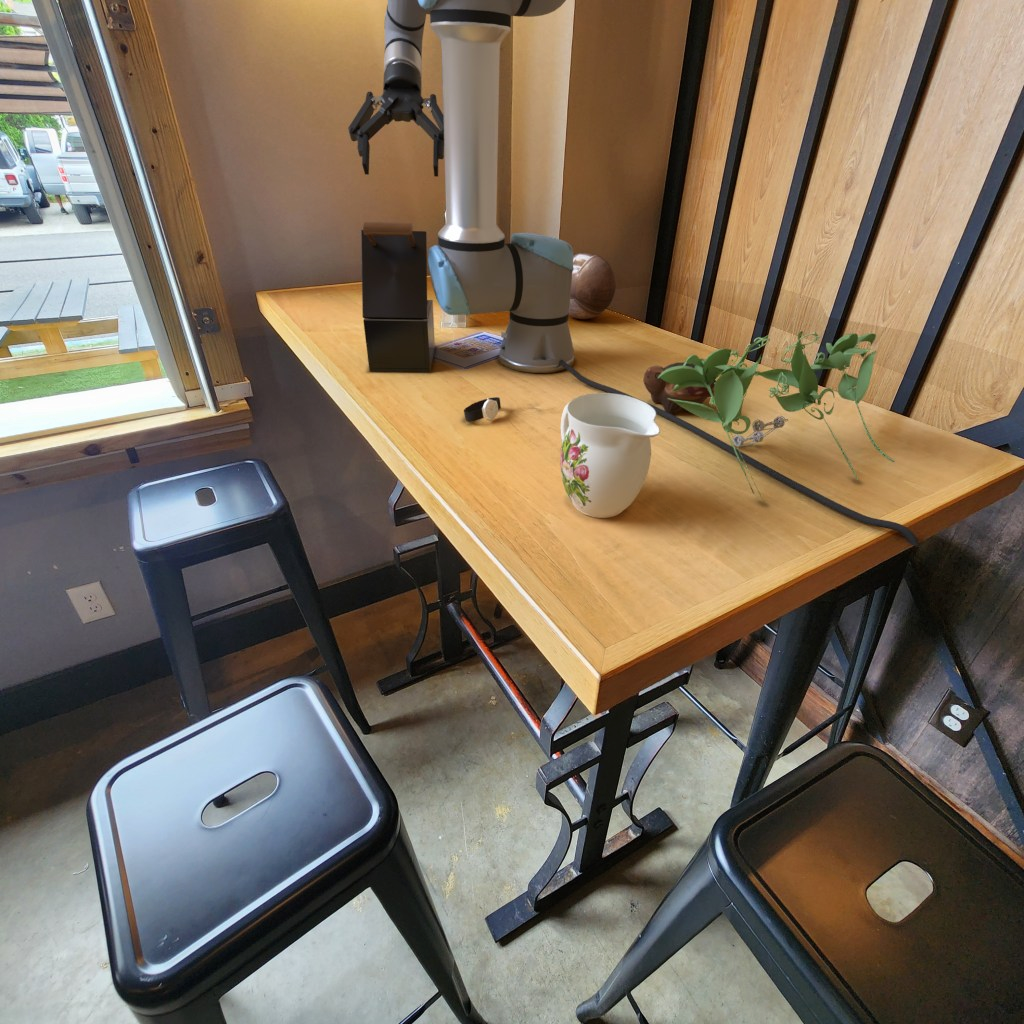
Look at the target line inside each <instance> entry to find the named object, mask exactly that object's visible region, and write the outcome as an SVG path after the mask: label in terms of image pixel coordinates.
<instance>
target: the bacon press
mask: <svg viewBox="0 0 1024 1024" xmlns="http://www.w3.org/2000/svg"><path fill="white" fill-rule="evenodd" d="M413 229H414V228H413V223H412V222H393V221H392V222H390V221H363V222H362V229H360V243H361V244H360V245H361V246H360V248H361V251H360V252H361V303H362V304H361V305H362V307H361V308H362V309H361V310H362V311H361V312H362V318H363V319H364V318H376V319H427V300H428V244H427V243H428V242H427V241H428V236H427V230H426V231H423V230H413Z"/></svg>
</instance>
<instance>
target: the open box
mask: <svg viewBox="0 0 1024 1024" xmlns="http://www.w3.org/2000/svg"><path fill="white" fill-rule="evenodd" d="M362 322H363V329H364V338H365V345H366V346H365V347H366V355H367V363H368V371H369V373H431V371H432V365H433V359H434V354H435V349H436V341H435V320H434V301H433V299H427V319H376V318H363V321H362Z"/></svg>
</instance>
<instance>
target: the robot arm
mask: <svg viewBox="0 0 1024 1024" xmlns="http://www.w3.org/2000/svg"><path fill="white" fill-rule="evenodd" d="M566 1H567V0H387V3H386V11H385V13H384V14H385V15H384V54H383V86H382V94H381V96H378V95H374V93H373V92H372V91H367V92H366V95H365V100H364V103H363V104H362V105H361V107H360V109H359V110H358V112H357V113H356V114H355V116H354V118H353V120H352V121H351V123H350V124H349V125H348V127H347V130H348V134H349V137H350V140H351V141H352V142H356V141H357V146H356V148H357V149H356V150H357V152H358V156H359V157H360V158H361V162H362V163H361V166H362V169H363V173H364V175H367V176H368V175H370V151H371V150H370V149H371V147H370V142H369V141H370V140H371V139H372V138H373V137H375V135H376V134H377V133H378V132H379V131H381V129H382V128H383V127H385V126H386V125H387V126H388V125H389V124H390V123H391V122H392V121H394V122H397V123H398V122H405V123H411V121H413V122H414V123H415V124H416V125H417V126H418V127H420V128H421V129H422V130H423V131H424V132H425V133H426V134H427V135H428V136H429V137H430V139H432V141H433V146H432V147H433V148H432V150H433V151H432V153H433V158H432V160H433V161H432V164H433V165H432V166H433V176H434V177H435V178H436V177H437V178H438V177H439V160H444V183H445V185H444V186H445V219H446V220H445V224H444V225H443V226H442V228H440V230H439V231H438V233H437V240H438V241H437V244H434V245H433V246H430V247H429V249H428V251H427V255H428V256H427V265H428V272H429V277H430V282H431V286H432V289H433V292H434V295H435V299H436V301H437V303H438V305H439V307H440V309H441V310H442V311H443V312H444V313H445V314H447V315H450V316H467V317H469V316H471V315H481V314H493V313H503V312H504V313H505V312H509V316H508V317H509V319H508V323H507V327H506V330H505V332H503V331H501V333H500V337H501V338H502V341H501V344H500V348H499V362H500V363H501V364H503V366H505V367H507V368H510V369H512V370H514V371H519V372H524V373H532V374H551V373H556V372H557V373H558V372H561V371H565V370H567V371H568V372H569V373H570V374H572V375H573V376H574V377H575V378H576V379H577V380H578V381H580V382H582V383H584V384H585V385H588V386H590V387H592V388H594V389H597V390H600V391H603V392H605V393H613V394H620V395H626V396H630V397H633V398H636V399H639V398H638V397H635V396H633V395H630V394H628V393H626V392H623V391H621V390H618V389H616V388H614V387H611V386H607V385H605V384H602V383H599V382H597V381H593V380H591V379H589V378H587V377H586V376H584V375H582V374H581V373H580V372H578V371H577V369H575V368H574V367H572V366H573V365H574V363H575V349H574V345H573V339H572V336H571V332H570V331H571V330H570V327H569V326H570V325H569V306H570V295H571V283H572V272H573V270H574V268H573V255H574V249H573V247H572V245H571V244H570V243H569V242H567V241H565V240H563V239H560V238H556V237H552V236H548V235H542V234H536V233H530V232H513V233H512V235H511V237H510V240H509V241H510V242H509V243H508V242H507V243H505V239H506V238H505V237H506V236H505V233H504V232H503V231H502V230H501V228H500V227H499V226H498V224H497V215H498V214H497V211H498V210H497V209H498V208H497V207H498V159H499V157H498V156H499V155H498V154H499V114H500V113H499V112H500V111H499V107H500V105H499V104H500V63H501V61H500V60H501V58H500V57H501V56H500V55H501V54H500V53H501V49H500V48H501V45H502V43H503V41H504V40H505V39H506V38H507V36H508V35H509V34H510V32H511V30H512V27H511V26H512V17H519V18H520V17H523V18H533V17H540V16H541V17H543V16H545V15H548V14H551V13H553V12H555V11H557V10H558V9H560V8H561V6H563V4H564V3H566ZM427 15H429V19H430V20H429V21H430V23H429V25H430V28H431V29H432V31H433V33H434V34H435V35H436V36H437V37H438V39H439V41H440V43H441V74H442V78H441V79H442V110H443V111H442V110H441V108H440V106H439V105H438V101H437V95H436V94H434V93H431V94H430V95H429V97H426V98H423V96H422V82H423V81H422V77H423V76H422V75H423V73H422V72H423V70H422V69H423V68H422V67H423V58H422V56H423V54H422V53H423V39H424V32H425V31H424V30H425V24H426V18H427ZM379 106H380V107H379ZM378 107H379V109H377V108H378ZM424 108H426V110H427V111H428V112H429V113H431V116H432V118H433V120H434V122H435V123H436V124H435V123H434V122H433V121H432V120H431V119H430V118H429V117H428V116H427V114H426V113H424V111H423V109H424ZM375 111H377V112H376V113H375ZM639 400H641V399H639ZM641 401H643V402H645V403H647V404H649V405H650V406H651V407H653V408H654V409H655V411H656V415H659V416H661V417H663V418H665V419H667V420H669V421H671V422H673V423H675V424H677V425H678V426H680V427H682V428H684V429H686V430H688V431H690V432H691V433H694V434H696V435H697V436H699V437H701V438H703V439H705V440H706V441H708V442H710V443H711V444H713V445H715V446H717V447H719V448H721V449H722V450H724V451H726V452H727V453H729V454H730V455H733V456H734V457H736V458H737V456H736V454H735V451H734V449H733V447H732V445H730V444H728V443H726V442H725V441H723V440H721V439H719V438H717V437H715V436H713V435H712V434H710V433H709V432H706V431H705V430H703V429H701V428H699V427H697V426H695V425H693V424H692V423H689V422H688V421H685V420H684V419H682V418H679V417H678V416H676V415H674V414H673V413H672V414H670V413H668V412H666V411H665V409H664V410H663V409H662V408H660V407H657V406H655V405H653V404H651V403H649V402H646V401H644V400H641ZM735 449H736V452H737V454H738V456H739V458H740V461H741V460H742V461H743V460H744V461H743V462H745V464H748V465H750V466H752V467H754V468H755V469H756V470H759V471H761V472H763V473H764V474H766V475H768V476H770V477H771V478H773V479H775V480H777V481H779V482H780V483H782V484H784V485H786V486H787V487H789V488H791V489H793V490H795V491H797V492H799V493H800V494H803V495H805V496H807V497H808V498H811V499H812V500H814V501H817V502H818V503H820V504H822V505H824V506H826V507H828V508H830V509H831V510H833V511H835V512H837V513H839V514H841V515H844V516H846V517H848V518H850V519H852V520H855V521H857V522H859V523H862V524H864V525H868V526H872V527H876V528H882V529H886V530H891V531H894V532H897V533H899V534H900V535H902V536H903V537H904V539H906V541H907V542H908V543H909V544H910V545H911V546H913V547H917V548H919V547H920V546H921V544H920V543H921V542H920V540H919V539H918V538H917V535H916V534H915V533H914V532H913V531H912V530H911V529H910V528H908V527H907V526H906V525H903V524H901V523H898V522H895V521H891V520H886V519H880V518H876V517H871V516H867V515H865V514H862V513H860V512H857V511H855V510H854V509H851V508H849V507H846V506H844V505H842V504H840V503H838V502H837V501H835V500H832V499H831V498H829V497H827V496H825V495H822V494H820V493H819V492H817V491H815V490H812V489H811V488H809V487H807V486H805V485H803V484H802V483H799V482H798V481H795V480H794V479H791V478H790V477H788V476H787V475H784V474H783V473H781V472H778V470H775V469H773V468H772V467H770V466H768V465H766V464H763V463H762V462H760V461H758V460H757V459H755V458H753V457H751V456H749V455H747V453H744V452H742V451H741V450H740V449H739V450H738V448H735ZM739 451H740V452H739ZM740 453H741V454H740ZM741 455H742V456H741ZM742 457H743V459H742Z"/></svg>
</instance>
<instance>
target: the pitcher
mask: <svg viewBox="0 0 1024 1024" xmlns="http://www.w3.org/2000/svg"><path fill="white" fill-rule="evenodd" d="M630 396H631V395H630ZM630 396H626V395H620V394H613V393H609V392H594V393H593V392H592V393H588V394H581V395H579V396H577V397H575V398H572V399H571V401H569V402H568V403H566V405H565V406H564V407H563V410H562V412H561V413H562V414H561V418H560V439H561V448H560V457H559V466H560V476H561V481H562V484H563V487H564V490H565V493H566V495H567V497H568V499H569V501H570V502H571V503H572V504H573V506H574V508H575V509H576V510H577V511H578V512H580V513H581V514H583V515H585V516H588V517H592V518H598V519H607V518H613V517H616V516H618V515H619V514H621V513H623V511H625V510H626V509H627V508H629V507H630V506H631V505H632V503H633V502H634V501H635V499H636V498H637V497H638V496H639V494H640V491H642V488H643V486H644V484H645V481H646V479H647V477H648V474H649V470H650V466H651V458H652V444H651V443H652V442H651V438H654V437H656V436H659V434H660V433H661V430H660V427H659V425H658V424H657V422H656V421H655V420H656V418H657V413H656V411H655V409H654V408H653V407H651V406H650V405H649V404H650V403H649V404H647V403H648V402H646V401H644V400H642V401H641V399H640V400H639V398H637V397H635V398H633V397H634V396H633V397H630ZM636 398H637V399H636ZM643 401H644V402H643ZM645 402H646V403H645Z"/></svg>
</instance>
